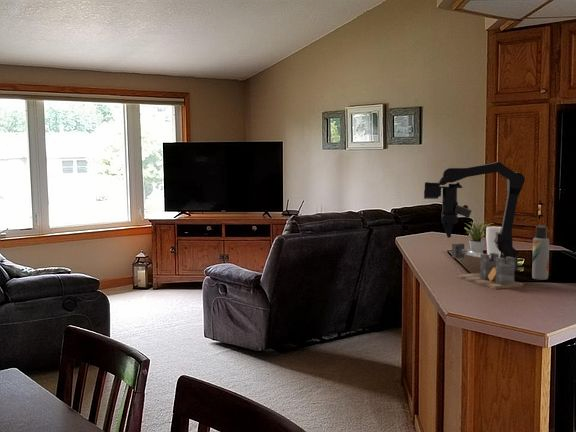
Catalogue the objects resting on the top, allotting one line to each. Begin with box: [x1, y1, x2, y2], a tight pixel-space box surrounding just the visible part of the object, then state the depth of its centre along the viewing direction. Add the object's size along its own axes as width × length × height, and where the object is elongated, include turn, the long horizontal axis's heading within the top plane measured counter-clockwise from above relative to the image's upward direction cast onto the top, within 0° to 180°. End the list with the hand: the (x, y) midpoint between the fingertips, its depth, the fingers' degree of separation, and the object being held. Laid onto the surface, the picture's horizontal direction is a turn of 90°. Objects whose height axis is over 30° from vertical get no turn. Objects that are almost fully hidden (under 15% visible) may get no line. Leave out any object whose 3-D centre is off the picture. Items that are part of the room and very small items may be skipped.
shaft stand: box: [456, 253, 524, 290], centre depth 240 cm, size 23×12×10 cm, turn 19°
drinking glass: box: [485, 225, 502, 258], centre depth 281 cm, size 7×7×15 cm
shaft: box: [451, 242, 493, 260], centre depth 249 cm, size 22×4×6 cm, turn 19°
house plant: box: [464, 219, 493, 253], centre depth 302 cm, size 14×14×16 cm
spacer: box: [488, 267, 496, 282], centre depth 235 cm, size 2×5×5 cm
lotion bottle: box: [531, 224, 550, 281], centre depth 244 cm, size 6×6×20 cm
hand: (449, 237), depth 263 cm, fingers closed
